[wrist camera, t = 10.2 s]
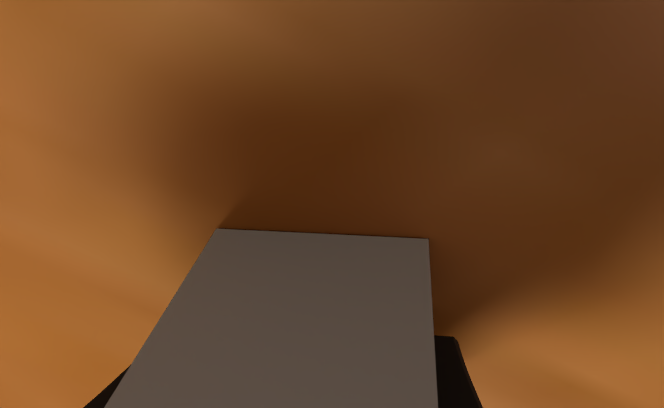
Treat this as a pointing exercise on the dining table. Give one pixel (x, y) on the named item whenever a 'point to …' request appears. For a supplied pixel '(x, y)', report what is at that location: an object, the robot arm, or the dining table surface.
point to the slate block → (293, 327)
